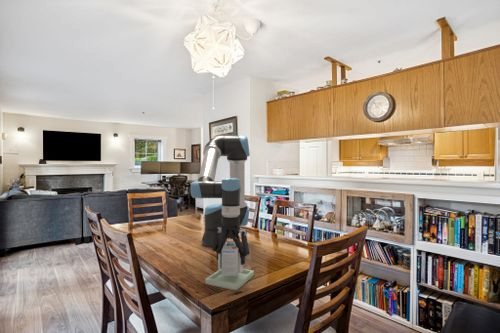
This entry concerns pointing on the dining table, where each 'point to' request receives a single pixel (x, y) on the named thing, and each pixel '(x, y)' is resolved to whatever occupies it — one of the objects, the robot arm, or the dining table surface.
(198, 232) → the dining table surface
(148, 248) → the dining table surface
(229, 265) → the light bulb box
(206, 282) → the tray
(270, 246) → the dining table surface
